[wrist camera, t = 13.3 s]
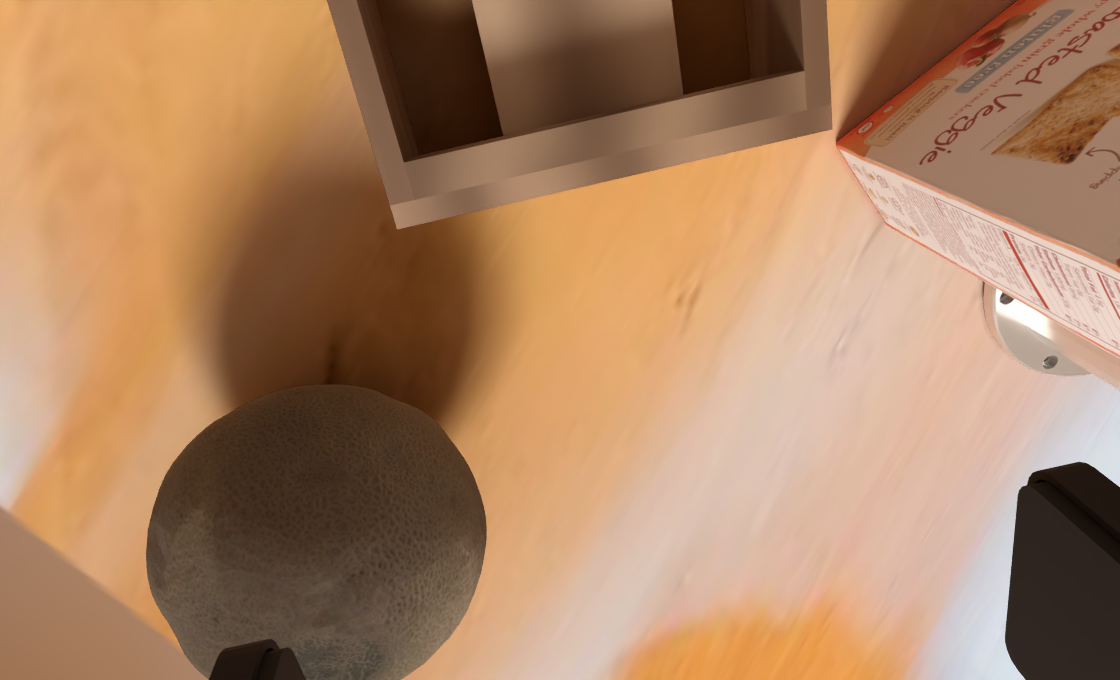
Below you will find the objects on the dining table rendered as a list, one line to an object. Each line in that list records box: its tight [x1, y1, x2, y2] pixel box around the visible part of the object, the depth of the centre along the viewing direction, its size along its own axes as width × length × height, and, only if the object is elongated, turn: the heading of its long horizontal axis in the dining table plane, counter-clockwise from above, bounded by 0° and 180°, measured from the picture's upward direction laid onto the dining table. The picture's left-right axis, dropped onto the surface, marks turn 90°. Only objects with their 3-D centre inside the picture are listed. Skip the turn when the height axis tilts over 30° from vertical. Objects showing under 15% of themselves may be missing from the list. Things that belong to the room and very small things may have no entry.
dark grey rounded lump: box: [146, 384, 486, 680], centre depth 35 cm, size 14×14×15 cm
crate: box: [327, 0, 832, 229], centre depth 31 cm, size 18×12×6 cm, turn 102°
